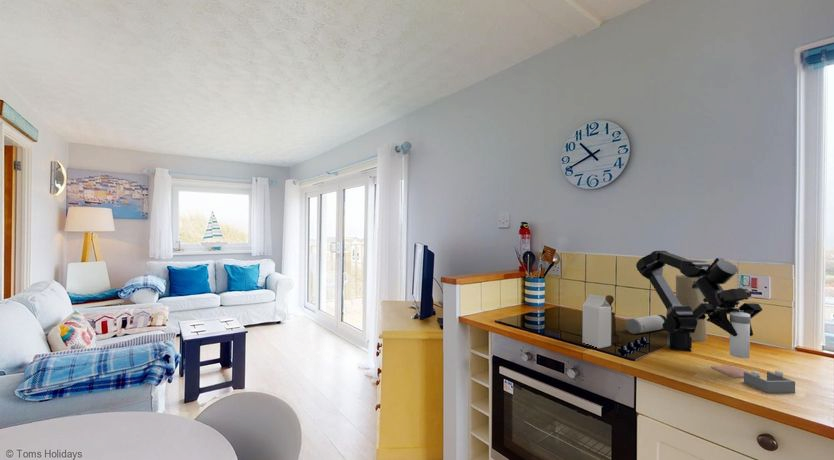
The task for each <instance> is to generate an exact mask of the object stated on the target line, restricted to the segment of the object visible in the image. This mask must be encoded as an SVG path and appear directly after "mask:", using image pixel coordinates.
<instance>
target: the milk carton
mask: <svg viewBox="0 0 834 460" xmlns="http://www.w3.org/2000/svg"><path fill="white" fill-rule="evenodd" d="M605 297H606V296H604V295H603V296H602V295H597V294H591V293H588V297H587V298H586V300H585V301H584V303H583V304H582V344H583V343H585V344H584V345H586V344H589V345H592V346H594V347H593V348H595V347H597V348H596V349H603V348H607V347H611V346H612V343H611V312H612V311H611V306H612V305H611V306H610V305H609V303H608V302H607V301H606V300H605ZM589 345H588V346H589ZM592 346H591V347H592Z"/></svg>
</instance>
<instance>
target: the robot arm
mask: <svg viewBox="0 0 834 460" xmlns="http://www.w3.org/2000/svg"><path fill="white" fill-rule="evenodd" d="M666 265H667V266H670V267H672V268H675V269H678V270H679V273H681V275H685V276H687V277H689V278H699V279H698V280H697V281H693V285H692V288H693V289H699V290H700V291H701V293H702V294H703V295H704V297H705V298H704V299H703V301H704V302H706V303H701V304H700V305H699V306H698V307H697V308H695V309H694V310H693V311H692V309H691V307H689V306H683V305H681V304H680V302H679V301H678V299H677V297H676V293H674V291H673V290H672V288H671V286H670V285H669V283H668V282H667V281H666V279H665V277H664V276H663V271H664V268H663V267H665V266H666ZM635 267H636V269H637V271H638V272H639V273H640V275H641V276H642V277H644V278H646V279H647V280H648V281H650V283H651V285H652V286H653V288H654V290H655V292H656V294H657V295H658V297H659V299H660V300H661V302H662V304H663V305H664V307H665V308H666V316H665V317H666V318H667V320H666V321H665V322H664V323H663V324H662V325H663V329H662V330H663V331H665V332H667V342H666V346H667V347H668V348H669V349H671V350H677V351H683V352H684V351H686V352H692V348H693V347H692V342H693V341H692V338H691V337H690V333H694V332H695V329H696V326H697V320H704V319H705V317H706V322H709V323H711V324H713V325H716V326H717V327H719V329H721V330H723V331H725V332H727V333H728V334H729V335H730V334H731V335H733V336H737V333H736V331H735V329H734V328H733V326H732V324H731V323H730V319H729V318H728V315H730V312H743V313H748V314H750V316H751V319H753V318H754V317H755V316H757V315H758V314H759V313H761V312H762V311H763V308H762V307H761V305H760V304H759V303H755V302H744V303H743V304H741V305H740V306H738V305H739V304H740V301H744V300H749V298H751V297H752V293H751V291H750V290H749V289H748V287H746V286H740V287H737V288H729V289H724V288H723V287H722V286H721V285H724V284H726V283H728V281H730V280H731V279H732V278H733V277H734V276H735V275H737V273H738V272H739V270H738V267H737V265H735V264H733V263H732V262H730V261H728V260H725V259H724V257H716V258H715V259H713V262H712V263H711V264H710V262H708V261H706V260H697V259H689V258H685V257H682V256H679V255H676V254H673V253H671V252H668V251H667V250H654V251H652V252H651V253H649V254H648V255H645V256H643V257H640V259H639V260H638V261H637V262H636V265H635ZM736 306H737V307H736ZM705 314H706V316H705ZM707 317H708V318H707ZM752 328H753V327H752V323H750V337H752V336H754V332H753V329H752Z"/></svg>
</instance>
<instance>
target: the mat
mask: <svg viewBox="0 0 834 460" xmlns="http://www.w3.org/2000/svg"><path fill="white" fill-rule="evenodd" d="M711 369H713V370H715V371H718V372H720V373H722V374H724V375H727V376H728V377H731V378H733V379H744V372H748V373H750V374H751V371H750V370H747V369H744V368H742V367H739V366H736V365H711ZM759 377H760V378H761V376H760V375H759Z"/></svg>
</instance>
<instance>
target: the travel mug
mask: <svg viewBox="0 0 834 460" xmlns="http://www.w3.org/2000/svg"><path fill="white" fill-rule="evenodd" d="M666 320H667V317H666V316H665V315H663V314H654V315H647V316H640V317H635V318H628V319H627V320H626V322H625V327H626V330H627V331H628V333H630V334H633V335H637V334H642V333H648V332H653V331H659V330H663V325H662V324H663V323H664V322H665V321H666Z"/></svg>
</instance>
